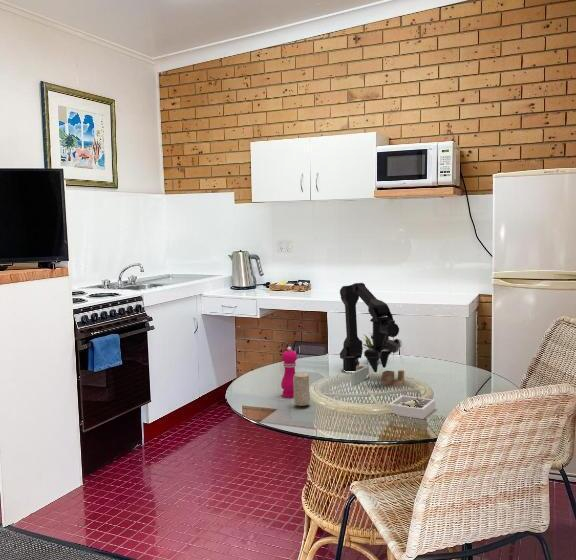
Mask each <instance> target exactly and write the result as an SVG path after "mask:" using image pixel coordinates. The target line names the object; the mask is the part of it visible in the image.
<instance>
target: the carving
mask: <svg viewBox="0 0 576 560" xmlns="http://www.w3.org/2000/svg"><path fill="white" fill-rule="evenodd" d="M293 386H294V388H293V389H294V390H293V391H294V398H293V403H294V404H295V406H298V407H301V406H309V405H310V403H311V394H310V375H309V373H307V372H297V373H295V374H294V378H293Z"/></svg>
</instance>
